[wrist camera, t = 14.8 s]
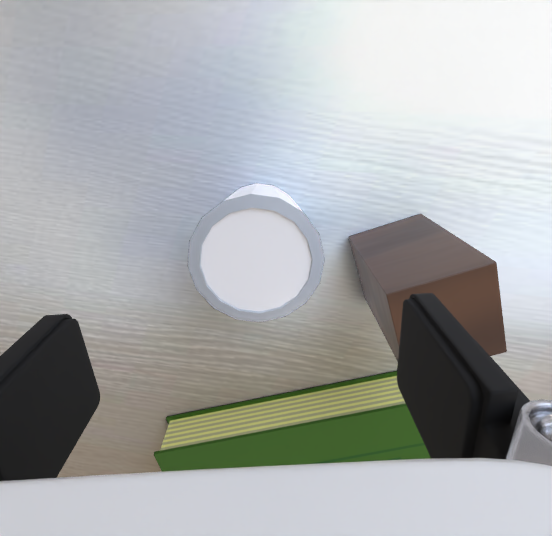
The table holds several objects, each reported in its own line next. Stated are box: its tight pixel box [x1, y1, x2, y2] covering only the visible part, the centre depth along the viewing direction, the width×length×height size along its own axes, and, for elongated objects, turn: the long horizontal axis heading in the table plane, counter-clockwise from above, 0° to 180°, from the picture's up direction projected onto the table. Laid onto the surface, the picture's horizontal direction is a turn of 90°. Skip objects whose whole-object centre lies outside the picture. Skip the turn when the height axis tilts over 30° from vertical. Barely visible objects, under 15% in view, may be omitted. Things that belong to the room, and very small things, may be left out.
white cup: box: [188, 183, 325, 322], centre depth 22 cm, size 7×7×7 cm
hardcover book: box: [154, 371, 431, 472], centre depth 32 cm, size 25×19×4 cm
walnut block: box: [349, 214, 507, 361], centre depth 22 cm, size 5×5×9 cm
